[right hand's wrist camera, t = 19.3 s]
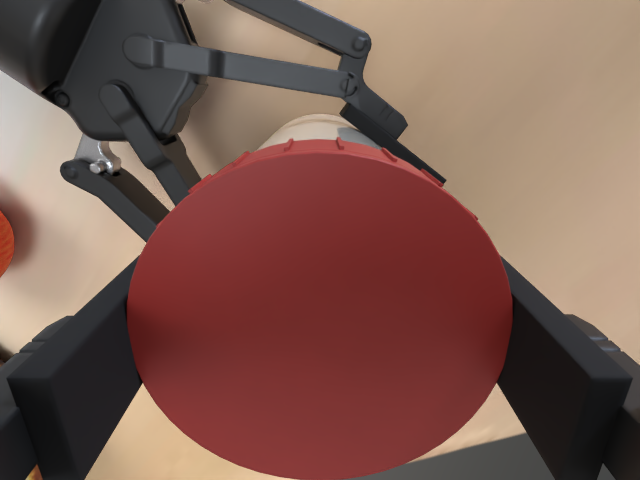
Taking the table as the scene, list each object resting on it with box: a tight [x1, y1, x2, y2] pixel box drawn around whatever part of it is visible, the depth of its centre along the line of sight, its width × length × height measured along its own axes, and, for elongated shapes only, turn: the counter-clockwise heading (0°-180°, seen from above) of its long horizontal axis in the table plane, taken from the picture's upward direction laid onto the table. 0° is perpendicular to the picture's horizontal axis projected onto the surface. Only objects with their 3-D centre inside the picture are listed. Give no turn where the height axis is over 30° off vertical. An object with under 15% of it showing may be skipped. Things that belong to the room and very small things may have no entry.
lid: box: [127, 137, 513, 480], centre depth 11 cm, size 10×10×2 cm
